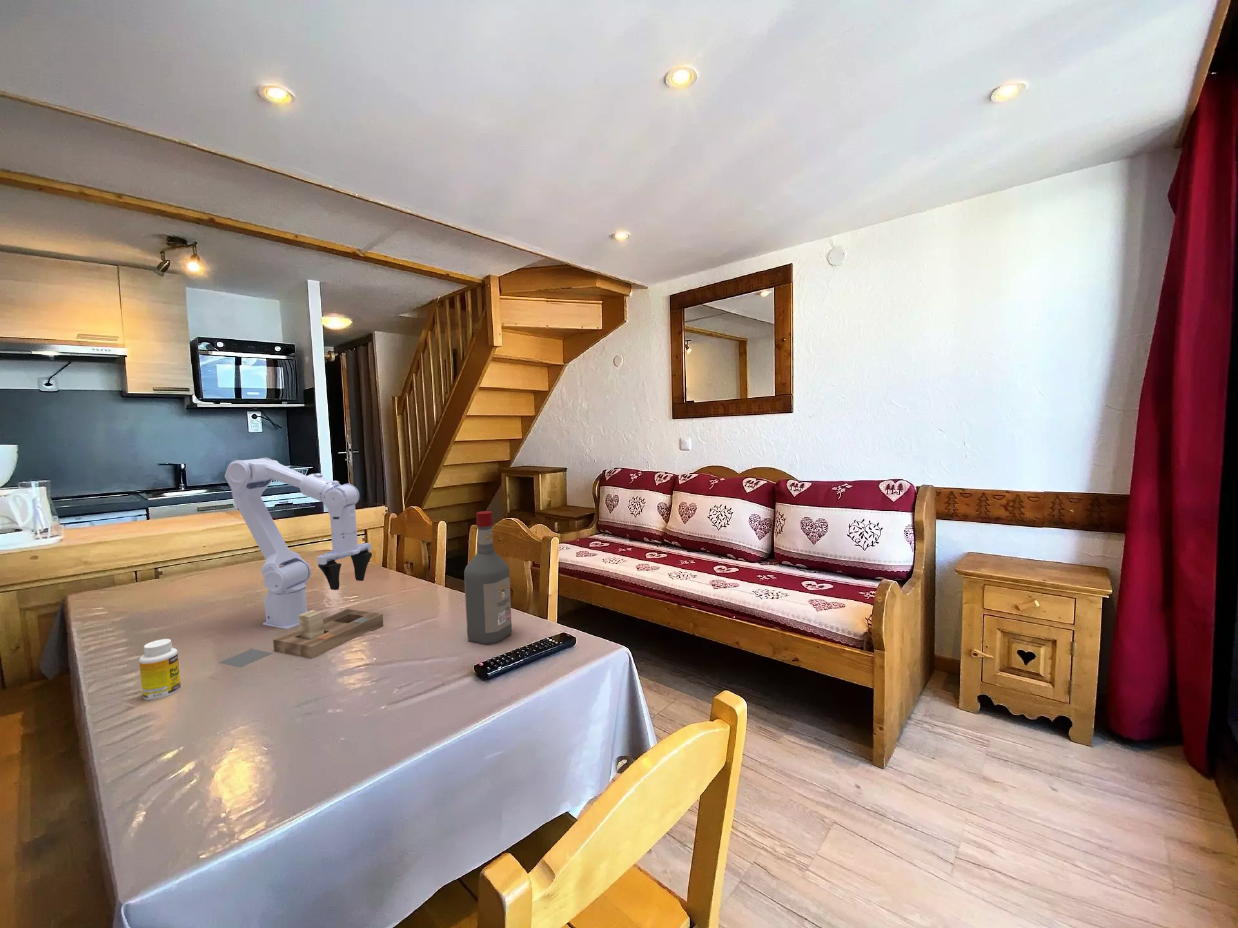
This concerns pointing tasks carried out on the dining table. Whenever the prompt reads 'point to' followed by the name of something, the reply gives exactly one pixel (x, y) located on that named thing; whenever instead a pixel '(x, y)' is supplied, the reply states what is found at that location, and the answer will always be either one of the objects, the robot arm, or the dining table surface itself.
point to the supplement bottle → (159, 670)
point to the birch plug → (311, 624)
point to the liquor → (487, 589)
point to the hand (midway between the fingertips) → (347, 584)
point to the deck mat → (245, 658)
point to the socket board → (330, 633)
